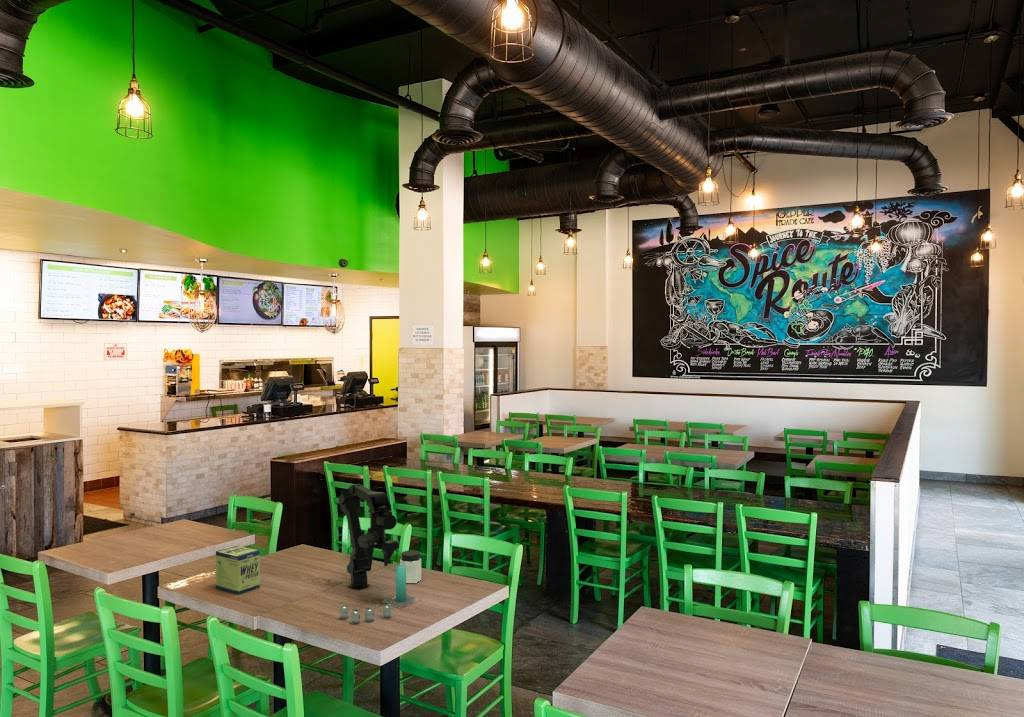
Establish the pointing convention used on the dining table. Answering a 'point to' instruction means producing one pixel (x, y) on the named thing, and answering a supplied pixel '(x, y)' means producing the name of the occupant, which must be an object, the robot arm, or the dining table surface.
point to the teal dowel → (401, 583)
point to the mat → (400, 604)
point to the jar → (411, 565)
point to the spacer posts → (368, 613)
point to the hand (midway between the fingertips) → (377, 564)
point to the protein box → (237, 569)
